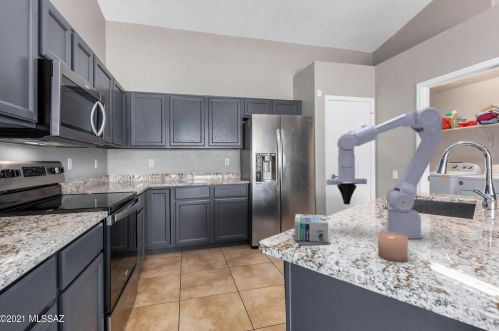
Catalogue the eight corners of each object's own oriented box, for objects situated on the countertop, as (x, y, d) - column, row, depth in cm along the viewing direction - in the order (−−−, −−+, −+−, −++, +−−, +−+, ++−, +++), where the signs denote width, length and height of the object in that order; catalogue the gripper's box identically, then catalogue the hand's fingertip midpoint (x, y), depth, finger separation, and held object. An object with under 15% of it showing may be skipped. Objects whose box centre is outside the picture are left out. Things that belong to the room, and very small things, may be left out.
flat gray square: (319, 234, 87) (319, 233, 87) (330, 244, 77) (330, 243, 77) (292, 235, 86) (292, 234, 86) (299, 245, 76) (299, 244, 76)
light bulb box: (328, 222, 77) (294, 220, 79) (328, 243, 77) (294, 240, 80) (325, 214, 88) (295, 213, 90) (325, 233, 88) (294, 231, 90)
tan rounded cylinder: (396, 251, 70) (396, 231, 70) (414, 261, 63) (414, 238, 63) (373, 252, 70) (372, 231, 70) (388, 262, 63) (388, 239, 63)
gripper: (359, 166, 93) (360, 201, 94) (323, 167, 92) (323, 202, 93) (370, 167, 86) (370, 205, 87) (330, 167, 85) (330, 206, 86)
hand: (346, 204), depth 89 cm, fingers closed
